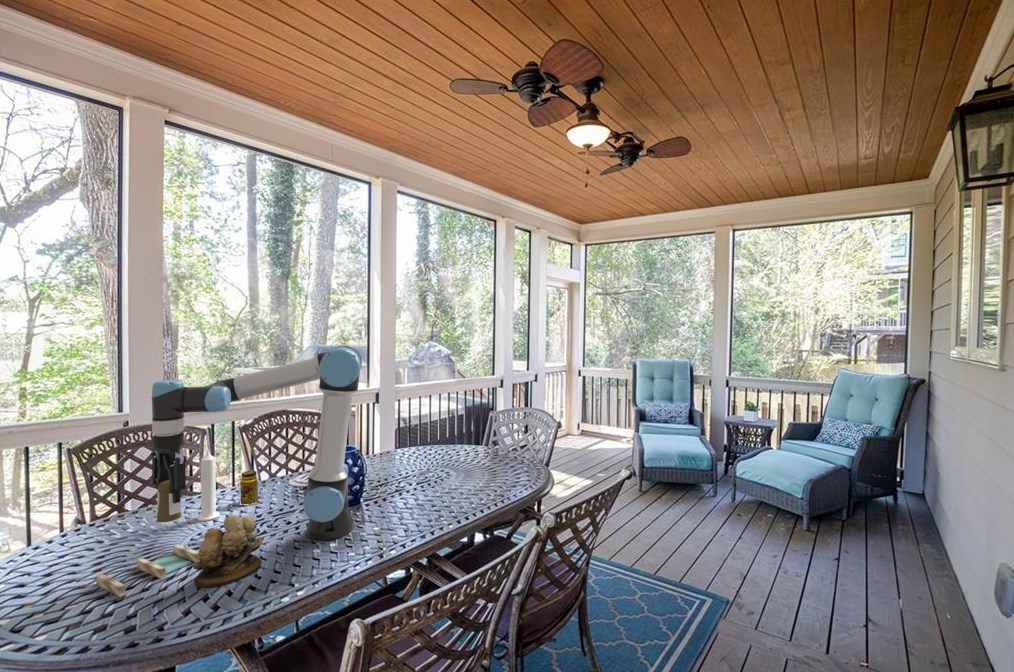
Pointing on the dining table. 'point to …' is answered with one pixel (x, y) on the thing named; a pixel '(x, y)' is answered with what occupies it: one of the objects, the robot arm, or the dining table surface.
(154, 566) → the notched rack
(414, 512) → the dining table surface
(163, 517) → the olive pawn
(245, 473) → the condiment
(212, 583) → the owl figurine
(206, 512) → the candle
